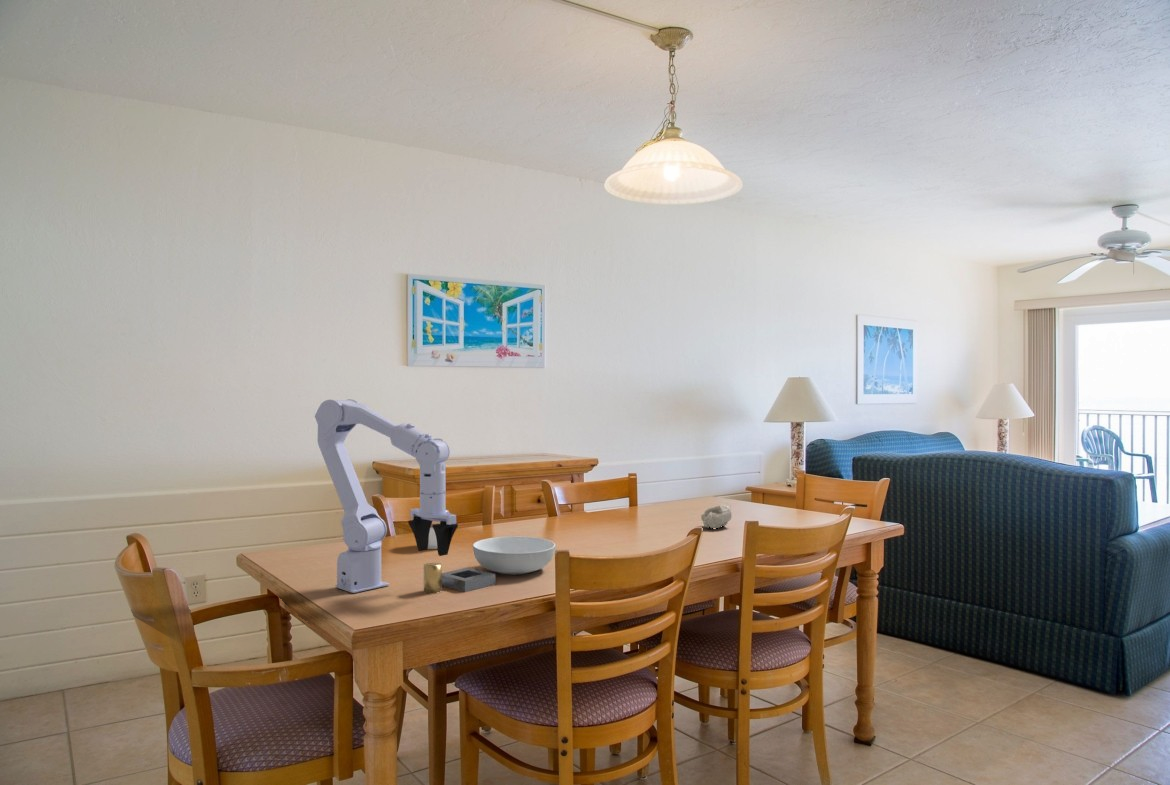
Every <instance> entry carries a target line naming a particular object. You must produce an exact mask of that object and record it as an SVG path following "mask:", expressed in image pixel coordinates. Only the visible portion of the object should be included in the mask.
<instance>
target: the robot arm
mask: <svg viewBox="0 0 1170 785" xmlns="http://www.w3.org/2000/svg"><path fill="white" fill-rule="evenodd" d="M314 418H315V422H316V424H317V445H318V447H319V449H320V452H321V456H322V457H323V460H324V463H325V465H326V466H325V467H326V468H327V470H328V473H329V475H330V478H331V481H332V483H333V485H334V488H335V491H336V493H337V497H338V498H339V500H340V504H341V506H342V509H343V511H344V513H343V516H342V519H341V521H340V524H341V527H342V538H343V542H344V544H345V545H346V546H347V547H348V549H347V550H345V551H342V552H340V553H339V554H338V556H337V561H336V567H337V568H336V585H335V587H334V588H336V589H340V590H343V591H346V592H349V593H352V594H355V593H360V592H365V591H368V590H373V589H374V590H375V589H379V588H383V587H387V586H389V585H390V583H389V582H385V581H383V580H382V544H383V540H384V539H385V537H386V536H387V532H388V528H387V527H388V526H387V523H386V522H385V520H384V519H383V518H381V516H380V515H379V513H378V511H377V509H376V508H374V507H373V506H372V505H371V504H369V502H368V500H367V498H366V496H365V493H364V490H363V488H362V485H361V483H360V481H359V478H358V475H357V473H356V471H355V468H354V465H353V463H352V461H351V457H350V456H349V452H348V450H347V447H346V445H345V440H346V438H347V437H348V435H349V433H350V432H351V431H352V430H353V429H354V428H355V427H356V426H357V425H359V424H360V425H363V426H364V427H366V428H369V429H371V430H373V431H376V432H377V433H379V434H381V435H384V436H386V437H387V438H389V440H390V443H391V445H392V446H393V447H395V448H396V449H399V450H401V451H402V452H404V453H406V454H408V455H410V456H411V457H414V458H415V461H416V462H417V463H418V466H419V508H411V509H410V518H412V520H411V519H410V520H408V525H409V527H410V529H411V531H412V533H413V536H414V538H415V540H414V541H415V543H416V547H417V551H418V552H423V551H428V550H429V549H428V541H429V531H430V527H431V524H432V521H436V522H440V524H434V525H433V529H434V531H435V534H436V539H437V549H436V550H437V555H438V556H439V557H442V556H447V555H448V554H449V550H450V547H451V546H450V545H451V542H452V539H453V536H454V534H455V532H456V531H457V529H458V527H459V524H458V523H457V514H454V513H451V512H450V510H448V509H446V508H447V506H446V500H447V499H446V497H447V496H446V493H447V492H446V490H447V489H446V488H447V486H446V477H447V476H446V461H448V459H449V458H450V447H449V445H448V443H447V442H446V441H444V440H443V439H442V438H432V434H430V433H426V434H425V433H424V432H422V431H420V430H419V429H417V428H415V424H413V423H401V424H396V423H394V422H393V421H391V420H390V419H388V418H386V417H385V416H383V415H381V414H380V413H378V412H376V411H374V410H373V409H371V408H370V407H368V406H367V405H366V404H364V403H361V402H358V401H356V400H355V399H339V400H338V399H327V400H324V401H322V402H321V403H320V405H319V406H318V409H317V410H316V412H315V414H314Z"/></svg>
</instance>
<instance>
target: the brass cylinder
mask: <svg viewBox="0 0 1170 785" xmlns="http://www.w3.org/2000/svg"><path fill="white" fill-rule="evenodd" d="M442 565H443V564H442V563H440V562H427V563H424V564H423V593H424V592H425V593H424V594H429V593H433V594H438V593H437V592H439V593H441V592H442V589H443V588H442V587H443V586H442V573H443V572H442V571H443V570H442V569H443V568H442ZM440 591H441V592H440Z"/></svg>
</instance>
